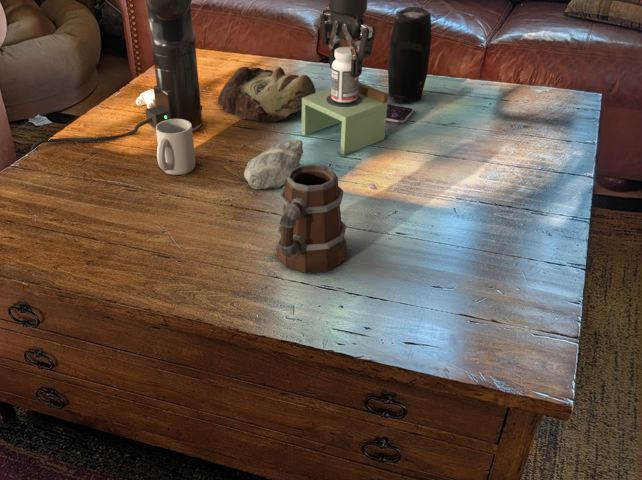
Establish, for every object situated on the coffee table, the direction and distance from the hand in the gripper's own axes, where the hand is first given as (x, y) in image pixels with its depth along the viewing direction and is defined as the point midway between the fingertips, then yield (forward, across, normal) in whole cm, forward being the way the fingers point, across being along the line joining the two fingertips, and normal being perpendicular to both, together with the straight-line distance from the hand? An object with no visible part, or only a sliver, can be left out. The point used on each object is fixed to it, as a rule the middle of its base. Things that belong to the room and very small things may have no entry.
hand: (345, 72), depth 151 cm
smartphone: (+14, +4, -15) cm, 21 cm away
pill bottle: (+6, 0, 0) cm, 6 cm away
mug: (+14, -32, +38) cm, 52 cm away
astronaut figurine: (+14, +45, +20) cm, 51 cm away
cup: (+14, +11, +37) cm, 41 cm away
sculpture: (+14, +25, +1) cm, 29 cm away
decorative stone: (+14, -5, +23) cm, 28 cm away
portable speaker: (+14, +6, -26) cm, 30 cm away
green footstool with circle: (+14, 0, 0) cm, 14 cm away
